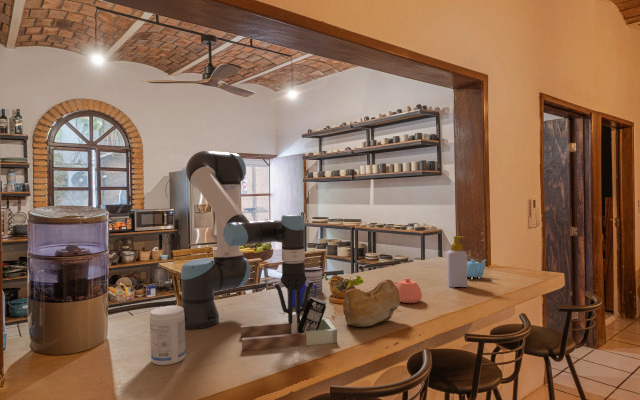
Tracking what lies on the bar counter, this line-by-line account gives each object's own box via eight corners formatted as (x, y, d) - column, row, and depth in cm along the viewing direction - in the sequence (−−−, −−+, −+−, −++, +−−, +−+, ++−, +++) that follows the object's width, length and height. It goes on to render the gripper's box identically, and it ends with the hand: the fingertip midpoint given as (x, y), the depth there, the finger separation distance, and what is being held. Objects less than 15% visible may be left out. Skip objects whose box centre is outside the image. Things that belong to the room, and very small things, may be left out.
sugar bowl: (420, 306, 178) (420, 282, 178) (387, 303, 183) (387, 280, 182) (423, 299, 190) (423, 276, 190) (392, 297, 194) (391, 274, 194)
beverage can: (304, 330, 145) (316, 297, 147) (318, 338, 141) (331, 304, 142) (292, 329, 140) (305, 295, 141) (307, 338, 136) (320, 302, 137)
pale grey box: (306, 345, 134) (306, 332, 134) (299, 331, 148) (299, 319, 148) (337, 342, 136) (337, 330, 136) (327, 328, 150) (327, 317, 150)
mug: (314, 309, 175) (314, 285, 175) (286, 308, 178) (286, 284, 178) (318, 304, 183) (318, 281, 183) (291, 303, 186) (291, 280, 186)
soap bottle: (467, 288, 209) (467, 237, 209) (449, 287, 211) (448, 237, 210) (464, 284, 218) (464, 235, 218) (446, 284, 220) (446, 235, 219)
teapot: (458, 279, 232) (458, 260, 232) (462, 274, 243) (462, 257, 243) (483, 281, 226) (483, 262, 225) (486, 276, 237) (486, 258, 237)
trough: (242, 351, 130) (242, 339, 130) (240, 336, 144) (240, 325, 143) (306, 345, 134) (306, 334, 134) (299, 331, 148) (299, 321, 148)
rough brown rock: (380, 312, 172) (376, 275, 173) (407, 319, 158) (403, 279, 158) (330, 324, 161) (327, 284, 161) (355, 332, 146) (351, 289, 147)
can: (295, 294, 202) (294, 269, 202) (303, 289, 213) (303, 265, 213) (318, 295, 198) (317, 270, 198) (325, 290, 209) (325, 266, 209)
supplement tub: (175, 351, 131) (174, 303, 130) (192, 359, 124) (191, 309, 124) (144, 360, 124) (143, 310, 123) (160, 369, 117) (159, 316, 117)
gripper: (275, 264, 135) (275, 338, 135) (315, 262, 138) (315, 334, 138) (272, 260, 142) (273, 331, 142) (310, 259, 145) (311, 327, 145)
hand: (294, 332), depth 140 cm, fingers closed
